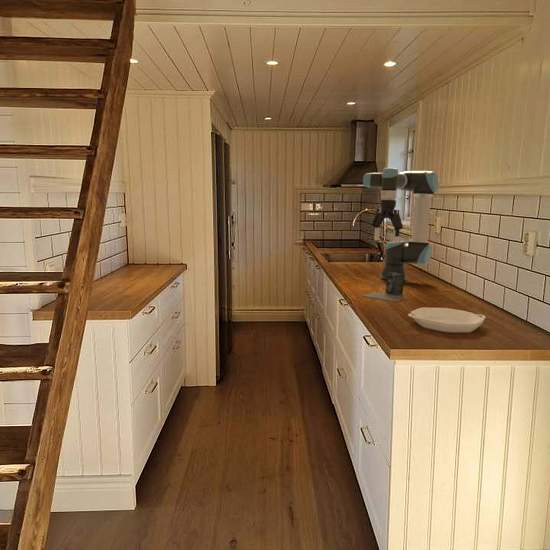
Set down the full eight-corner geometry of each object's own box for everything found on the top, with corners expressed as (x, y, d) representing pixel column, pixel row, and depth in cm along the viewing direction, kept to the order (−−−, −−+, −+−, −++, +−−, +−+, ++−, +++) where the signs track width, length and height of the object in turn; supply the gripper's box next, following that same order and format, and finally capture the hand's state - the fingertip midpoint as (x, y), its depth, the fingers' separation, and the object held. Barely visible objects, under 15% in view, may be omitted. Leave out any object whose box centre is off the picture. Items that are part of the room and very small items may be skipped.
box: (385, 292, 250) (386, 272, 249) (394, 292, 252) (396, 272, 250) (393, 295, 243) (394, 274, 241) (402, 295, 244) (404, 274, 243)
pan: (419, 334, 175) (420, 323, 174) (396, 317, 200) (397, 306, 199) (500, 335, 178) (502, 323, 177) (468, 317, 203) (469, 307, 202)
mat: (374, 292, 250) (374, 291, 250) (407, 297, 239) (407, 297, 239) (362, 296, 239) (362, 295, 239) (396, 302, 228) (396, 301, 228)
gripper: (366, 198, 249) (363, 239, 253) (400, 200, 228) (397, 244, 232) (377, 198, 253) (374, 239, 257) (412, 200, 232) (409, 244, 235)
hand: (385, 241), depth 244 cm, fingers open, 13 cm apart
